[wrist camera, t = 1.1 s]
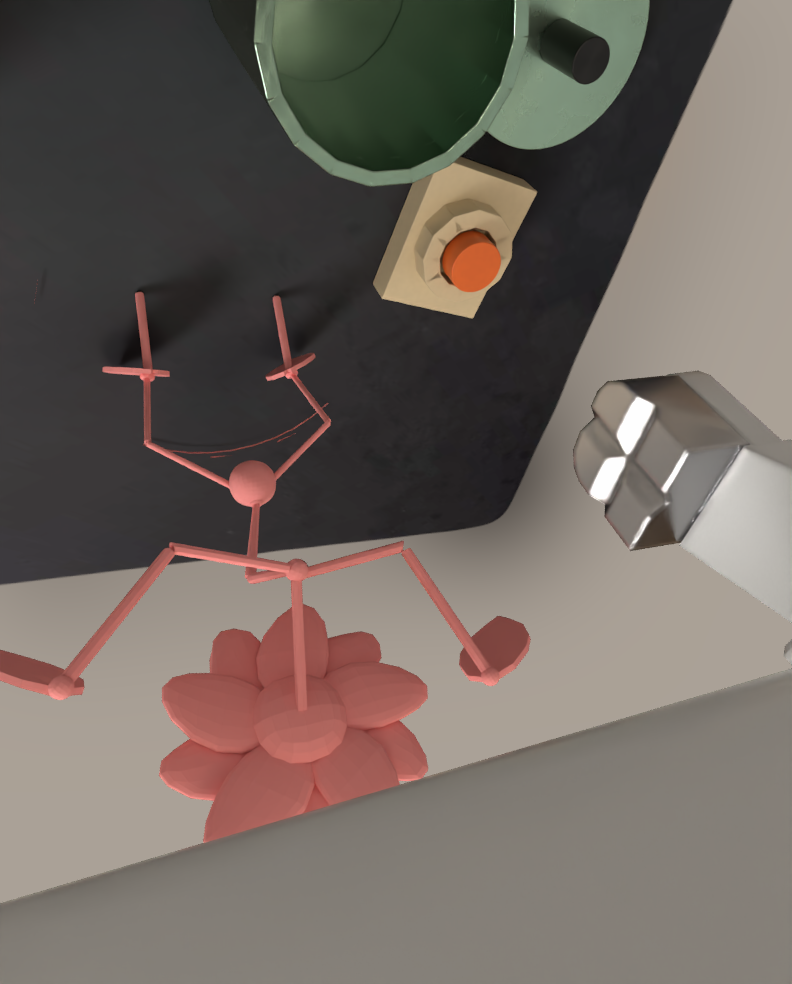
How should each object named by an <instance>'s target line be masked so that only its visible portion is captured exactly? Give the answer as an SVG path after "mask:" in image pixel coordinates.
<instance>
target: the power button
mask: <svg viewBox="0 0 792 984" xmlns="http://www.w3.org/2000/svg"><path fill="white" fill-rule="evenodd" d="M442 265H443V269H444V272H445V273H446V275H447V276H448V277H449V279H450V280H451V281H452V282H453V284H454V285H455V286H456V287H457V288H458V289H459V290H461V291H464V292H476V291H479V290H481V289H483V288H485V287H486V286H488V285H489V284H490V283H491V282H492V281H493V280H494V279H495V277H496V276H497V274H498V272H499V269H500V265H501V257H500V253H499V251H498V249H497V248H496V247H495V246H494V244H493V243H492V242H491V241H490V240H489V239H488V238H487V237H486V236H485V235H484V234H482V233H481V232H477V231H467V232H464V233H461V234H459V235H458V236H456V237H455V238H454V239H453V240H452V241H451V242H450V243H449V244H448V246H447V247H446V249H445V251H444V254H443V259H442Z"/></svg>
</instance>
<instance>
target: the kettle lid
mask: <svg viewBox="0 0 792 984" xmlns="http://www.w3.org/2000/svg"><path fill="white" fill-rule="evenodd" d="M649 5H650V0H530V8H529V35H528V41H527V44H526V48H525V51H524V54H523V58H522V61H521V64H520V67H519V71H518V74H517V77H516V81H515V84H514V87H513V89H511V90H512V91H511V93H510V94H509V96H508V98H507V99H506V101H505V103H504V104H503V106H502V107H501V109H500V111H499V112H498V114H497V116H496V117H495V119H494V120H493V122H492V124H491V125H490V127H489V129H488V130H487V132H488V133H489V134H490V135H491V136H493V137H494V138H496V139H497V140H498V141H500V142H502V143H504V144H506V145H508V146H511V147H515V148H518V149H526V150H535V149H544V148H549V147H553V146H555V145H558V144H561V143H563V142H566V141H568V140H570V139H572V138H573V137H575V136H577V135H578V134H580V133H581V132H583V131H584V130H585V129H587V128H588V127H589V126H590V125H592V124H593V123H594V122H595V121H596V120H597V119H598V118H599V117H600V116H601V115H602V114H603V113H604V112H605V111H606V110H607V109H608V107H609V106H610V105H611V104H612V103H613V101H614V100H615V99H616V97H617V96H618V94H619V93H620V92H621V90H622V88H623V87H624V85H625V83H626V82H627V80H628V78H629V76H630V74H631V72H632V70H633V68H634V66H635V64H636V61H637V58H638V56H639V53H640V51H641V47H642V44H643V40H644V37H645V33H646V28H647V23H648V15H649Z"/></svg>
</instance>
